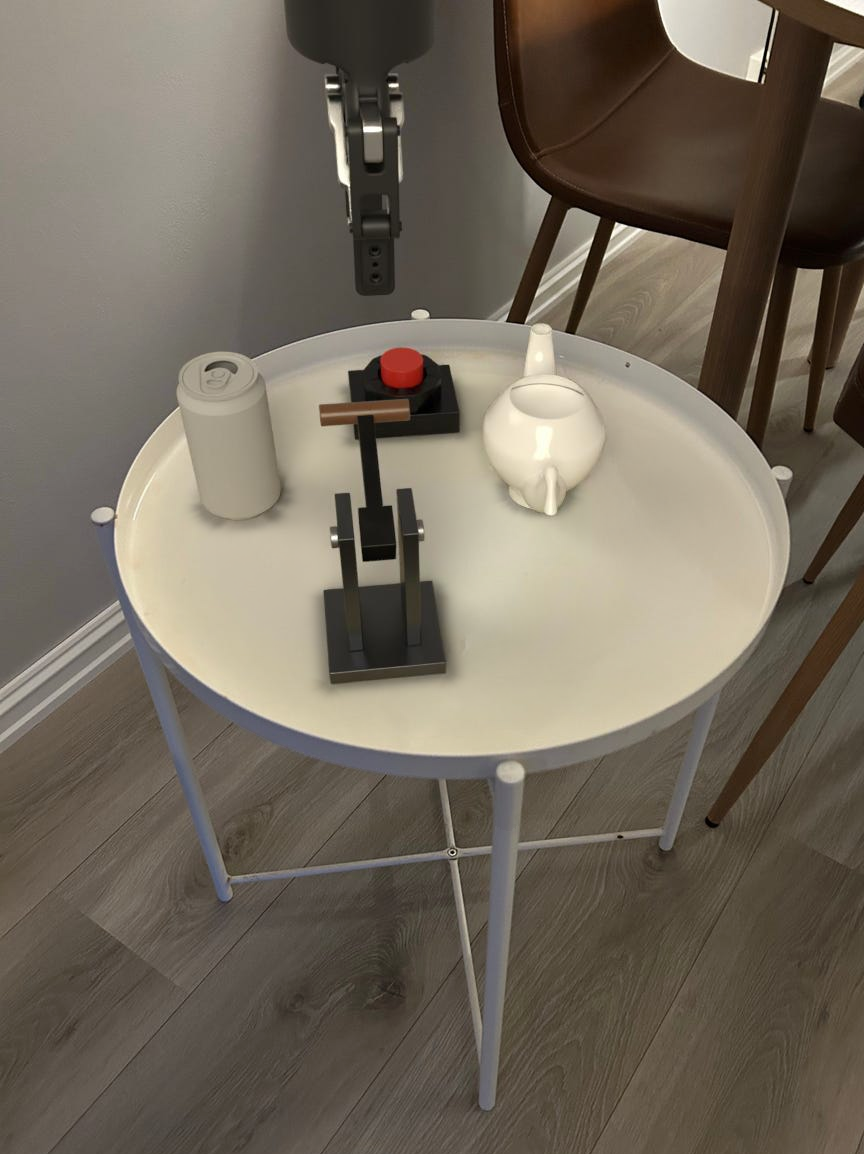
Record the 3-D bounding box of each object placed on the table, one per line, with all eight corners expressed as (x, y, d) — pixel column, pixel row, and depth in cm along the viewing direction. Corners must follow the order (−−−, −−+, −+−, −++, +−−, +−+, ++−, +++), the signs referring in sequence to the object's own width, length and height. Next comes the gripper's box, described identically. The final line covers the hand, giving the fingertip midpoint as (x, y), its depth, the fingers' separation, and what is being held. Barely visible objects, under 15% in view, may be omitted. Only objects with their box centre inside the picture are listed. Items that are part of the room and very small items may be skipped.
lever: (320, 415, 73) (317, 396, 71) (407, 409, 74) (408, 390, 71) (333, 565, 69) (331, 549, 67) (425, 557, 70) (426, 542, 68)
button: (383, 390, 90) (382, 373, 89) (379, 366, 92) (378, 348, 91) (425, 388, 90) (425, 370, 89) (421, 363, 93) (420, 346, 91)
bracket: (324, 600, 79) (309, 476, 70) (432, 591, 80) (431, 467, 71) (330, 684, 74) (315, 562, 65) (445, 673, 75) (446, 551, 66)
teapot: (480, 576, 81) (484, 481, 74) (479, 414, 94) (482, 321, 87) (607, 578, 81) (622, 484, 74) (588, 416, 94) (599, 323, 87)
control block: (354, 440, 91) (351, 401, 88) (349, 391, 96) (346, 352, 93) (459, 432, 92) (460, 394, 89) (449, 384, 97) (449, 346, 94)
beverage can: (289, 476, 88) (272, 350, 79) (271, 529, 84) (251, 403, 75) (213, 469, 88) (187, 343, 79) (191, 522, 84) (161, 395, 75)
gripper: (276, -105, 56) (301, 199, 68) (281, -10, 46) (310, 322, 58) (420, -104, 56) (420, 196, 69) (454, -11, 47) (447, 317, 59)
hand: (369, 254), depth 63 cm, fingers open, 8 cm apart
